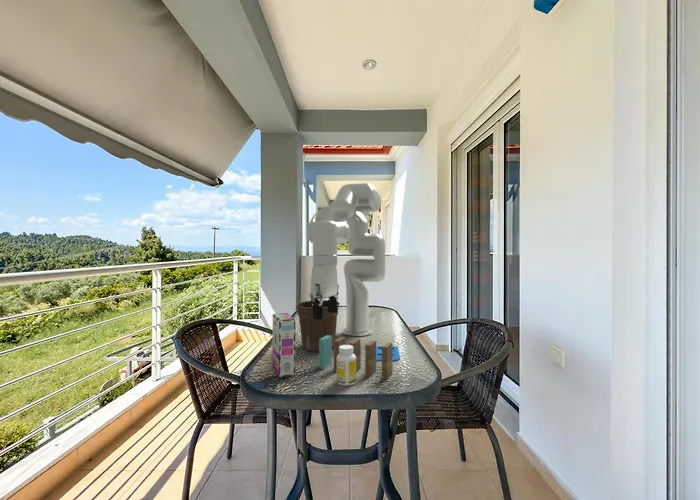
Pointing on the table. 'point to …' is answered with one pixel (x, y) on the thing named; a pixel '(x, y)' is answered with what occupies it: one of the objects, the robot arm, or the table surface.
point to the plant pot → (316, 325)
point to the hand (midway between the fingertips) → (325, 315)
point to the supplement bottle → (346, 366)
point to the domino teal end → (325, 352)
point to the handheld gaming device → (394, 353)
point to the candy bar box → (283, 344)
